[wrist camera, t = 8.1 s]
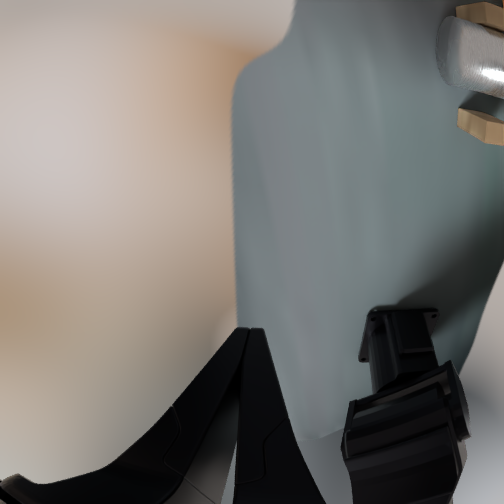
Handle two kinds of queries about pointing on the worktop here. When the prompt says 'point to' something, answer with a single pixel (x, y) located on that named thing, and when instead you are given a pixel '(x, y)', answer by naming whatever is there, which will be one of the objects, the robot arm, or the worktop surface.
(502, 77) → the tube
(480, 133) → the brown piece
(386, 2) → the worktop surface
